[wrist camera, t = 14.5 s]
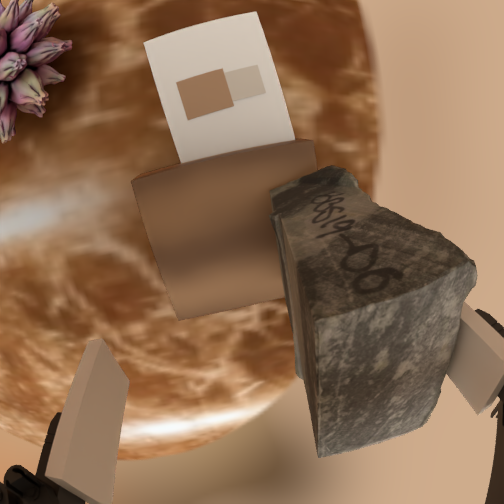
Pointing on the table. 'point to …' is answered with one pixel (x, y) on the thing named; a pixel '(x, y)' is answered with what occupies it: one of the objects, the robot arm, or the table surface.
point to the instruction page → (219, 87)
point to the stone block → (365, 308)
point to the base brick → (219, 225)
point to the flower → (26, 61)
